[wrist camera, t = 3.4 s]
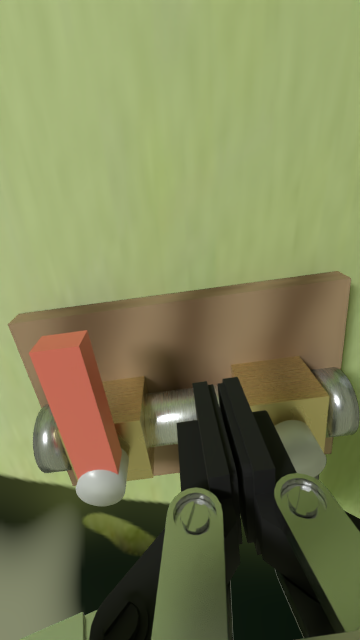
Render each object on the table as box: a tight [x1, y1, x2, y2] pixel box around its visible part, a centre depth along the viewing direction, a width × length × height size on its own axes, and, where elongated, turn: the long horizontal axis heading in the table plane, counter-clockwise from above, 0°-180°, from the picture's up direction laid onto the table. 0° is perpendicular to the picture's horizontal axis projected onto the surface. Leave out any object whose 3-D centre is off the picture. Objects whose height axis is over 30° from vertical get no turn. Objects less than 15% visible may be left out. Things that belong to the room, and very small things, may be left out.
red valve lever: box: [29, 330, 129, 506], centre depth 15 cm, size 9×2×2 cm, turn 7°
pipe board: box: [8, 271, 351, 486], centre depth 21 cm, size 20×14×2 cm
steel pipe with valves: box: [33, 356, 359, 482], centre depth 19 cm, size 18×4×4 cm, turn 97°
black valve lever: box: [275, 420, 326, 480], centre depth 17 cm, size 9×2×2 cm, turn 7°
